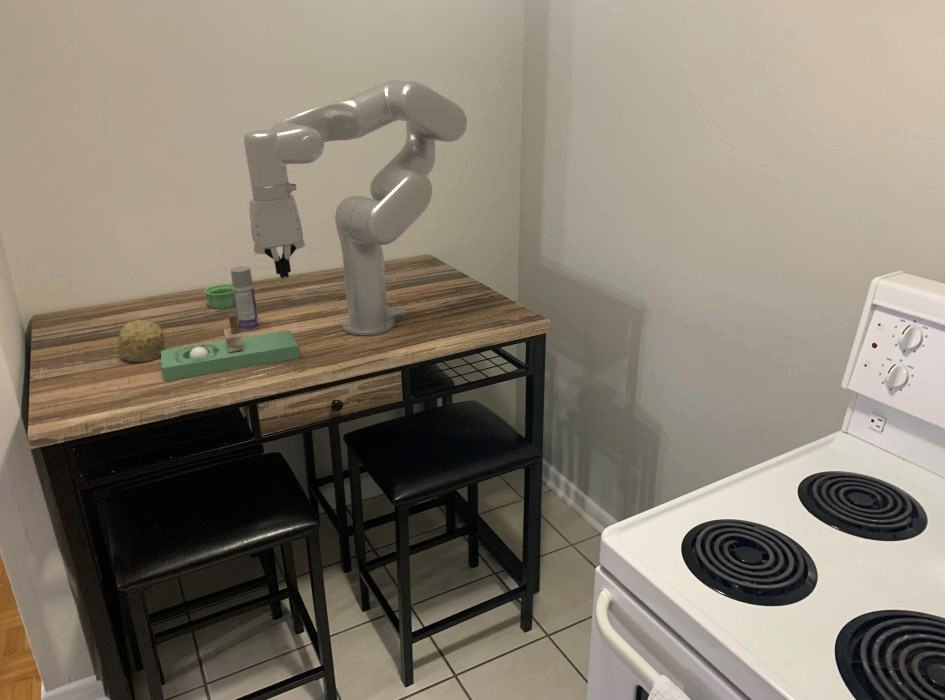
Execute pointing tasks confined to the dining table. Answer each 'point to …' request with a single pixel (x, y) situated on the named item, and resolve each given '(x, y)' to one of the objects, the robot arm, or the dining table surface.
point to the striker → (233, 334)
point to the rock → (140, 341)
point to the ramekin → (220, 296)
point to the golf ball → (198, 353)
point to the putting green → (229, 355)
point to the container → (244, 298)
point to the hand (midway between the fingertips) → (284, 276)
